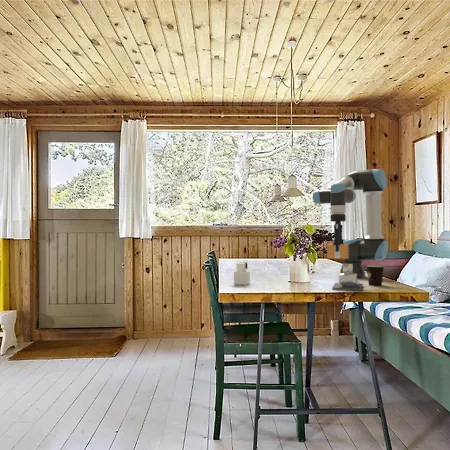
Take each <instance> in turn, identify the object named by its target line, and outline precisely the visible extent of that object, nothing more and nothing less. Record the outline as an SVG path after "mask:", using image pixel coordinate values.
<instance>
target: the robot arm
mask: <svg viewBox="0 0 450 450" xmlns="http://www.w3.org/2000/svg"><path fill="white" fill-rule="evenodd" d="M387 181H388V180H387V176H386V173H385V172H384V170H383V169H381V168H373V169H365V170H355V171H352V172H349V173H348V174H345V175H344V176H342V177H340V179H339V180H338V181H336V182H335V183H331V184H330V185H329V186H327V187H326V188H324V189H321V190H320V189H317V190H314V191H313V193H312V200H313V203H314V204H316V205H318V204H319V205H323V204H324V205H325V204H330V205H329V206H330V207H329V208H328V209H329V210H330V222H334V225H333V232H334V233H333V234H334V235H333V237H334V239H333V243H332V244H333V245H334V247H335V258H340V244H349V256H350V257H349V258H348V259H342V263H341V264H342V266H341V268H340V271H339V273H343V264H353V273H355V274H357V279H359V278H366V270H365V267H364V265H363V261H375V262H377V261H383V260H385V259H386V258H387V255H388V252H389V242H388V241H387V240H385V237H384V236H383V234H382V200H381V199H382V197H381V196H382V194H383V193H384V189H386V188H387V186H388V185H387V184H388V182H387ZM359 190H360V191H361V190H362V193H363V195H364V196H365V220H366V221H365V225H366V227H365V228H366V229H365V230H366V235H365V236H364V237H363V238H351V239H345V240H343V224H342V222H346V220H347V219H346V217H347V216H346V212H347V210H346V208H347V207H346V204H351V203H353V202H354V201H355V200H356V198H357V196H356V191H359Z"/></svg>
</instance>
